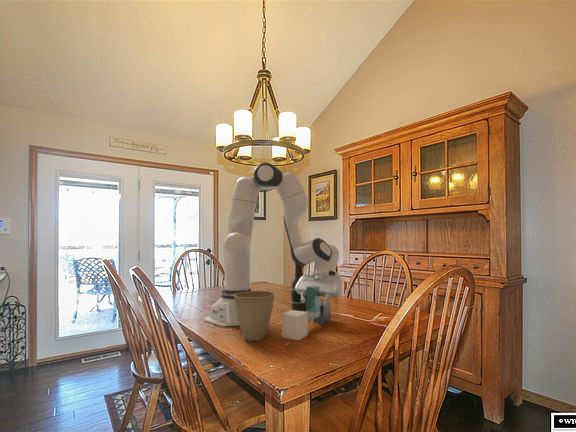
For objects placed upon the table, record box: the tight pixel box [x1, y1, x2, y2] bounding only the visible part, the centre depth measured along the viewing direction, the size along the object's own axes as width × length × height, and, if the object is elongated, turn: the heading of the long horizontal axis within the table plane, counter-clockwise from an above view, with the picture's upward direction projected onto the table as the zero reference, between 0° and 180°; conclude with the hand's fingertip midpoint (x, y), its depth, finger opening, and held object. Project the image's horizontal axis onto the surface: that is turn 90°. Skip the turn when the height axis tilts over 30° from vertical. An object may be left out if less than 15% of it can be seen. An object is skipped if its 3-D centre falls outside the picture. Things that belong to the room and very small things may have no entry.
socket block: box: [281, 309, 309, 341], centre depth 118 cm, size 7×7×8 cm
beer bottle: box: [290, 262, 307, 312], centre depth 158 cm, size 8×8×24 cm
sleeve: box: [312, 301, 332, 325], centre depth 138 cm, size 5×7×8 cm
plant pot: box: [234, 290, 275, 342], centre depth 117 cm, size 15×15×16 cm
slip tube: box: [306, 286, 323, 323], centre depth 132 cm, size 4×22×13 cm, turn 149°
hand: (312, 303), depth 131 cm, fingers open, 8 cm apart
